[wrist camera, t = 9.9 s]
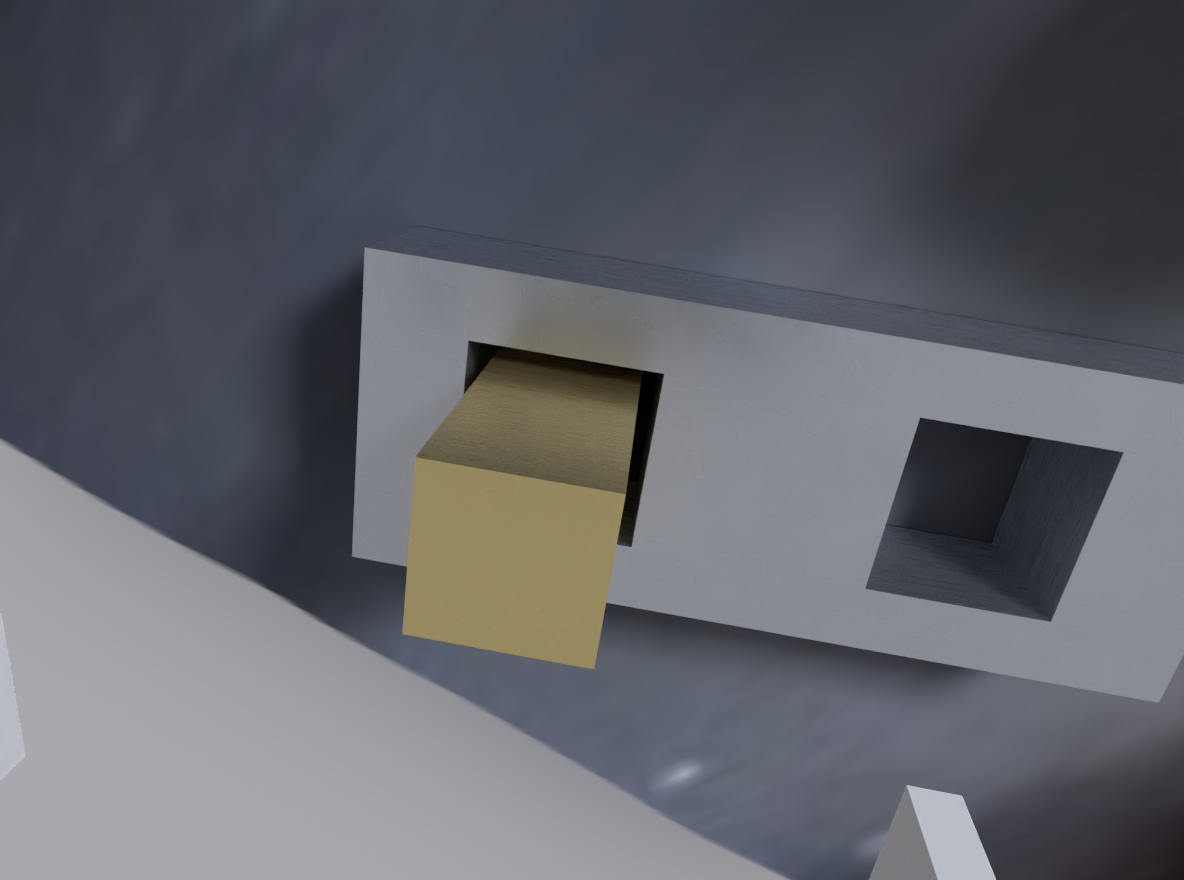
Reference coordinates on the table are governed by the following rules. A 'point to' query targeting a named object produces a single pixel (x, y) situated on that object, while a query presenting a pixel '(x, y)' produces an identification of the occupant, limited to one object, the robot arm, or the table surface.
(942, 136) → the table surface
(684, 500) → the white peg board
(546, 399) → the gold square peg
